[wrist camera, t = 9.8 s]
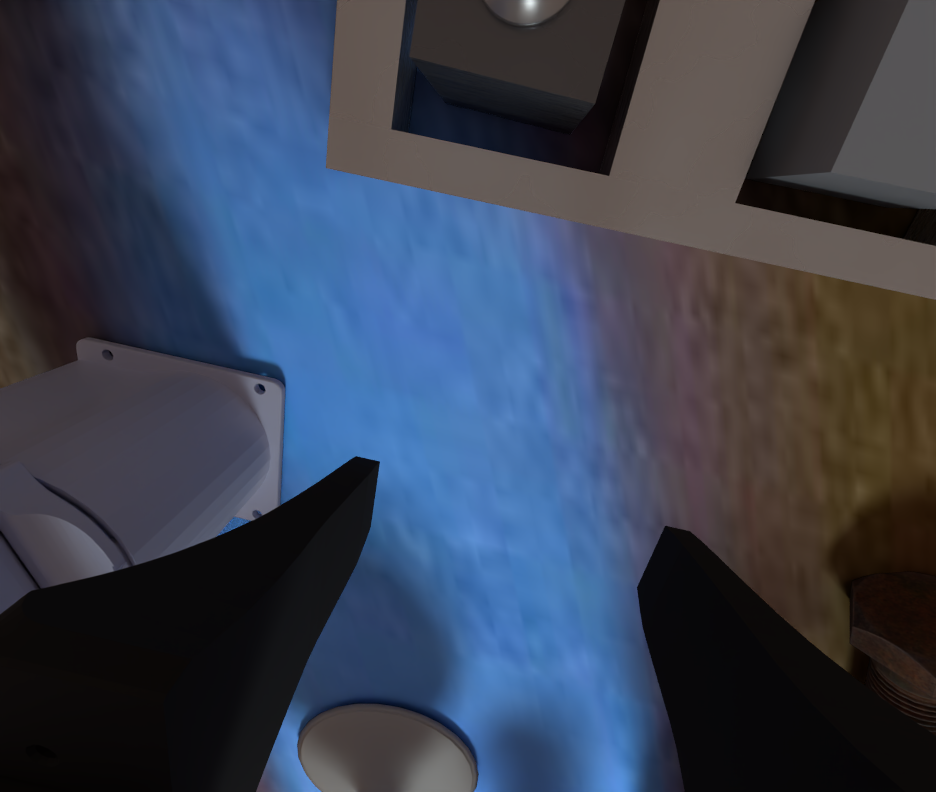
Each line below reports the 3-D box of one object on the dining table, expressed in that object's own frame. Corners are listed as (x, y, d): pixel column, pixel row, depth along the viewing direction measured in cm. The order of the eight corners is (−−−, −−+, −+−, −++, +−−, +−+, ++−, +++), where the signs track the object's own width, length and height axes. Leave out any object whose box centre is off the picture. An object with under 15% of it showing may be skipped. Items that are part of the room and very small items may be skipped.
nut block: (445, 103, 17) (406, 53, 11) (475, -60, 15) (447, -225, 9) (569, 134, 17) (596, 101, 11) (615, -25, 15) (675, -167, 9)
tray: (350, 171, 18) (325, 168, 15) (382, -203, 14) (355, -280, 11) (931, 297, 17) (991, 311, 15) (1137, -49, 13) (1259, -97, 11)
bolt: (827, 736, 29) (852, 552, 24) (941, 781, 26) (1001, 582, 21) (824, 838, 25) (853, 646, 20) (958, 905, 22) (1039, 702, 16)
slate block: (745, 179, 17) (830, 172, 12) (812, 4, 15) (946, -84, 10) (886, 207, 17) (1026, 211, 12) (973, 35, 15) (1183, -39, 10)
